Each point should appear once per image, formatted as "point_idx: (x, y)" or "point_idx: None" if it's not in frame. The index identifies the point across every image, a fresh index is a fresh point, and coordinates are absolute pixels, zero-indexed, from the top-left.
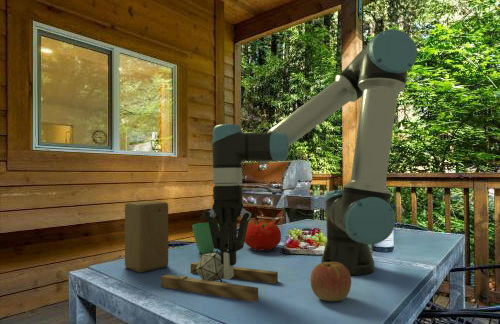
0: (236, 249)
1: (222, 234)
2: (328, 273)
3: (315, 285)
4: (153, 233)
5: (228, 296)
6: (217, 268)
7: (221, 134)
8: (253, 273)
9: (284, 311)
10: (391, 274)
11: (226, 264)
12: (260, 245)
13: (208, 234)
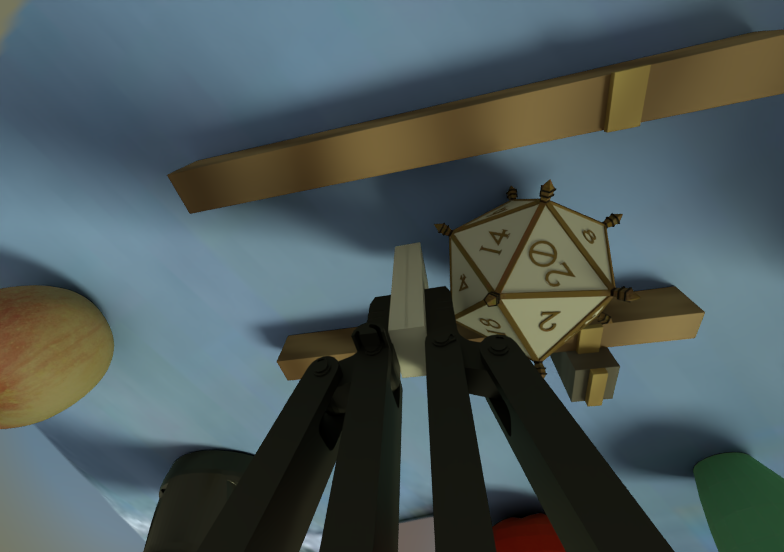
0: (324, 361)
1: (443, 450)
2: None
3: (9, 301)
4: None
5: (309, 135)
6: (458, 258)
7: None
8: None
9: (53, 150)
10: (142, 480)
11: (403, 283)
12: (519, 530)
13: (767, 548)
